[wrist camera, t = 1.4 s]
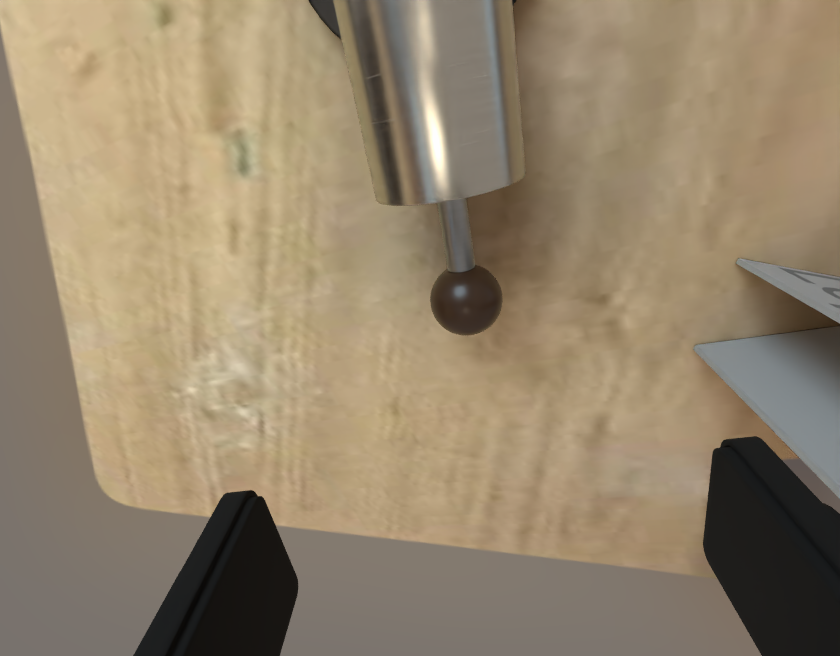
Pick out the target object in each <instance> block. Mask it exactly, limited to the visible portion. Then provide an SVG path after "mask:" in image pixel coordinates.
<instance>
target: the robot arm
mask: <svg viewBox="0 0 840 656" xmlns="http://www.w3.org/2000/svg"><path fill="white" fill-rule="evenodd" d="M703 547H704V552H705V556H706V558H707V561H708V563H709V565H710V566H711V568H712V570H713V571H714V573H715V575H716V577H717V578H718V580H719V582H720V584H721V585H722V587H723V589H724V591H725V592H726V594H727V596H728V598H729V599H730V601H731V602H732V605H733V606H734V608H735V610H736V611H737V613H738V615H739V617H740V618H741V620H742V622H743V624H744V625H745V627H746V629H747V631H748V632H749V634H750V636H751V637H752V639H753V641H754V643H755V645H756V646H757V648H758V650H759V651H760V653H761V655H762V656H840V514H839V513H838V512H837V511H836V510H834V509H833V508H832V507H830V506H828V505H826V504H824V503H822V502H821V501H820V500H819V499H818V498H817V497H816V496H815V495H814V494H813V493H812V492H811V491H810V490H809V489H808V488H807V486H806V485H805V484H804V483H803V482H802V481H801V480H800V479H799V478H798V477H797V476H796V475H795V474H794V473H793V472H792V471H791V470H790V468H789V467H788V466H787V465H786V464H785V463H784V462H783V461H782V460H781V459H780V458H779V457H778V456H777V455H776V454H775V452H774V451H773V450H772V449H771V448H770V447H769V446H768V445H767V444H766V443H765V442H764V441H763V440H762V439H761V438H759V437H756V436H754V437H745V438H736V439H727V440H723V442H722V443H721V447H720V448H716V449H714V451H713V455H712V464H711V474H710V483H709V492H708V502H707V511H706V520H705V530H704V539H703ZM297 593H298V579H297V576H296V573H295V571H294V569H293V566H292V564H291V562H290V559H289V557H288V554H287V552H286V550H285V547H284V545H283V542H282V540H281V538H280V535H279V533H278V531H277V529H276V526H275V523H274V521H273V519H272V516H271V514H270V512H269V509H268V507H267V504H266V502H265V500H264V498H263V497H262V496H257V494H256V493H255V492H254V491H252V490H249V491H240V492H231V493H226V494H224V495H223V497H222V498H221V500H220V501H219V503H218V505H217V507H216V509H215V510H214V512H213V514H212V516H211V518H210V519H209V521H208V523H207V525H206V527H205V528H204V530H203V532H202V534H201V536H200V537H199V539H198V541H197V543H196V545H195V547H194V548H193V550H192V552H191V554H190V556H189V557H188V559H187V561H186V563H185V564H184V566H183V568H182V570H181V571H180V573H179V574H178V577H177V578H176V580H175V582H174V583H173V585H172V587H171V589H170V591H169V592H168V594H167V596H166V598H165V600H164V601H163V603H162V605H161V607H160V609H159V611H158V612H157V614H156V616H155V618H154V619H153V621H152V623H151V625H150V627H149V629H148V630H147V632H146V634H145V636H144V638H143V639H142V641H141V643H140V645H139V646H138V648H137V650H136V652H135V654H134V655H133V656H280V653H281V649H282V646H283V642H284V639H285V635H286V631H287V629H288V625H289V622H290V618H291V615H292V611H293V608H294V605H295V601H296V598H297Z"/></svg>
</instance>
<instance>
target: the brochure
mask: <svg viewBox="0 0 840 656" xmlns="http://www.w3.org/2000/svg"><path fill="white" fill-rule="evenodd" d="M736 264H738V265H740V266H741V267H743V268H745V269H746V270H748V271H750V272H752V273H753V274H755V275H757V276H759V277H760V278H762V279H764V280H765V281H767V282H769V283H771V284H772V285H774V286H776V287H778V288H779V289H781V290H783V291H784V292H786V293H788V294H790V295H791V296H793V297H795V298H797V299H798V300H800V301H802V302H803V303H805V304H807V305H809V306H810V307H812V308H814V309H816V310H817V311H819V312H821V313H822V314H824V315H826V316H828V317H829V318H831V319H833V320H835V321H836V322H838V323H840V277H837V276H831V275H826V274H820V273H815V272H810V271H804V270H799V269H794V268H788V267H783V266H778V265H772V264H767V263H761V262H756V261H751V260H745V259H740V258H738V260H737V262H736ZM693 350H694V351H695V352H696V353H697V354H698V355H699V356H700V357H701V358H702V359H703V360H704V361H705V362H706V363H707V364H708V365H709V366H710V367H711V368H712V369H713V370H714V371H715V372H716V373H717V374H718V375H719V376H720V377H721V378H722V379H723V380H724V381H725V382H726V383H727V384H728V385H729V386H730V387H731V388H732V389H733V390H734V391H735V393H736V394H737V395H738V396H739V397H740V398H741V399H742V400H743V401H744V402H745V403H746V404H747V405H748V406H749V407H750V408H751V409H752V410H753V411H754V412H755V413H756V414H757V415H758V416H759V417H760V418H761V419H762V420H763V421H764V422H765V423H766V424H767V425H768V426H769V427H770V428H771V429H772V430H773V431H774V432H775V433H776V434H777V435H778V436H779V437H780V438H781V439H782V440H783V441H784V442H785V443H786V445H787V446H788V447H789V448H790V449H791V450H792V451H793V452H794V453H795V454H796V455H797V456H798V457H799V458H800V459H801V460H802V461H803V462H804V463H805V464H806V465H807V466H808V467H809V468H810V469H811V470H812V471H813V472H814V473H815V474H816V475H817V476H818V477H819V478H820V479H821V480H822V481H823V482H824V483H825V484H826V485H827V486H828V487H829V488H830V489H831V490H832V491H833V492H834V493H835V494H836V495H837V497H839V499H840V326H837V327H829V328H821V329H814V330H806V331H798V332H791V333H783V334H776V335H768V336H760V337H753V338H745V339H737V340H730V341H722V342H715V343H707V344H699V345H695V347H694V349H693Z"/></svg>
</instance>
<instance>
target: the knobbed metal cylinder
mask: <svg viewBox="0 0 840 656" xmlns="http://www.w3.org/2000/svg"><path fill="white" fill-rule="evenodd" d="M333 2H334V7H335V11H336V16H337V21H338V25H339V30H340V35H341V39H342V44H343V49H344V53H345V58H346V62H347V67H348V72H349V76H350V81H351V86H352V90H353V95H354V100H355V104H356V109H357V114H358V118H359V123H360V128H361V132H362V137H363V142H364V146H365V151H366V156H367V160H368V165H369V170H370V174H371V179H372V184H373V188H374V193H375V198H376V201H377V202H378V203H380V204H383V205H390V206H413V205H425V204H434V203H437V206H438V212H439V219H440V225H441V231H442V237H443V244H444V250H445V256H446V262H447V268H448V269H447V270H445V271H444V272H443V273H442V274H441V275H440V276H439V277H438V278H437V280H436V281H435V283H434V285H433V287H432V291H431V296H430V302H431V309H432V312H433V314H434V316H435V318H436V320H437V321H438V322H439V324H440V325H441V326H443V327H444V328H445V329H446V330H448V331H450V332H452V333H455V334H458V335H474V334H478V333H480V332H483V331H484V330H486V329H488V328H489V327H490V326H491V325H492V324H493V323H494V322H495V320H496V319H497V317H498V316H499V314H500V311H501V307H502V291H501V288H500V285H499V283H498V281H497V280H496V278H495V277H494V276H493V275H492V274H491V273H490V272H489V271H488V270H486V269H485V268H483V267H481V266H478V265H475V260H474V252H473V245H472V237H471V230H470V222H469V215H468V207H467V200H466V198H468V197H473V196H477V195H481V194H485V193H489V192H492V191H495V190H499V189H502V188H504V187H507V186H510V185H512V184H514V183H516V182H518V181H520V180H521V179H523V178H524V176H525V174H526V171H525V158H524V145H523V133H522V120H521V107H520V94H519V81H518V69H517V56H516V43H515V30H514V17H513V5H512V0H333Z"/></svg>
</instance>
